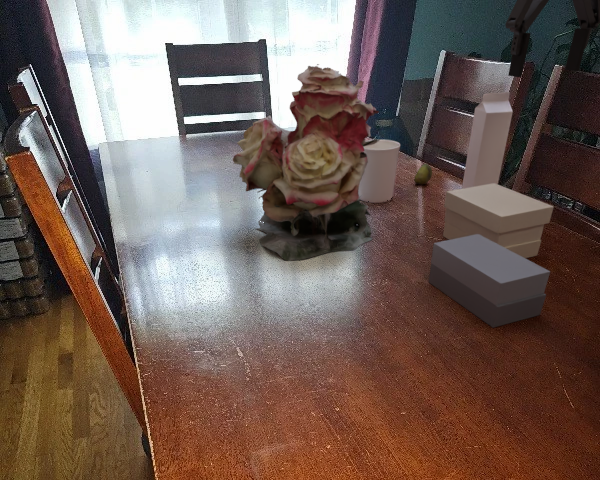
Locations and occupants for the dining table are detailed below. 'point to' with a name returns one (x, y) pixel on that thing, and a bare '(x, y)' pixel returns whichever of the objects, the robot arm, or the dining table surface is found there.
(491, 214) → the cream book
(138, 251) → the dining table surface
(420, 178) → the lime
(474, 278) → the grey stack
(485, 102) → the milk
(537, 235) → the cream stack
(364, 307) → the dining table surface
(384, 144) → the white cup
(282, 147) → the rose bouquet
